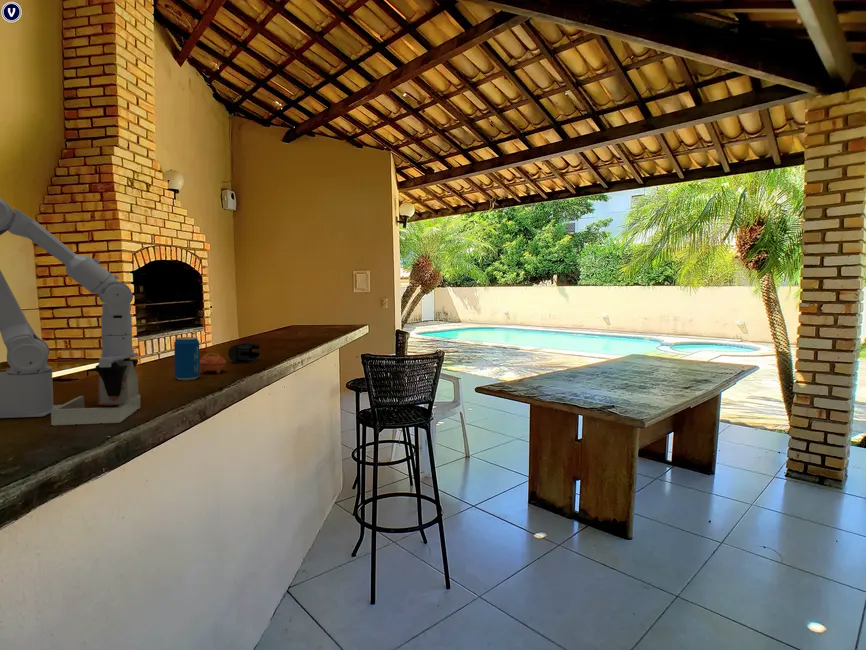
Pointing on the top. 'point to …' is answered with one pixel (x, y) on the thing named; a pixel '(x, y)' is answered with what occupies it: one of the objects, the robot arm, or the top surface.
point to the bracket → (92, 412)
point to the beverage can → (186, 358)
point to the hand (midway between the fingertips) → (118, 393)
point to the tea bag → (127, 387)
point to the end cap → (244, 353)
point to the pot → (212, 362)
